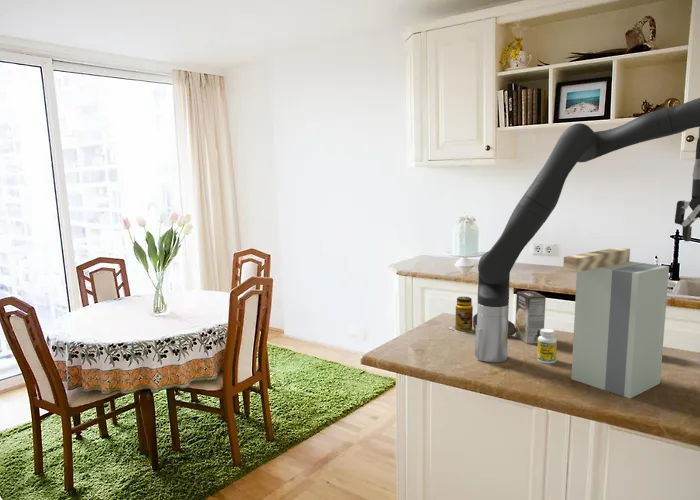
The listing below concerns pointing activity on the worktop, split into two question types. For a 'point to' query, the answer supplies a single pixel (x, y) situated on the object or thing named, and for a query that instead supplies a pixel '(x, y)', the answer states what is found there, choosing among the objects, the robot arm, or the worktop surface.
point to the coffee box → (529, 316)
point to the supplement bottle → (547, 346)
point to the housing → (620, 327)
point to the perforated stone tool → (510, 326)
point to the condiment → (463, 315)
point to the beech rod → (596, 259)
